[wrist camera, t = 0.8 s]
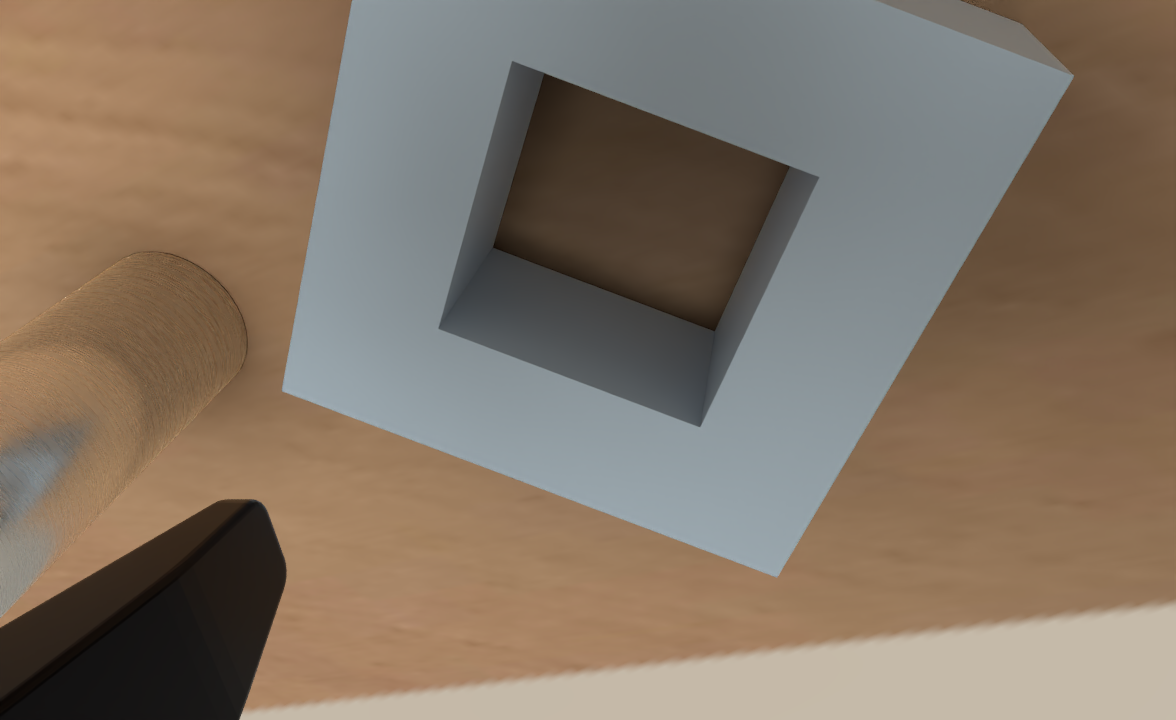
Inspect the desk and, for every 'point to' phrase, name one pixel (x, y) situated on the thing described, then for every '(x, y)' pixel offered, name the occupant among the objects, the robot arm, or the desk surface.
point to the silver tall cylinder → (103, 399)
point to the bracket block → (622, 326)
